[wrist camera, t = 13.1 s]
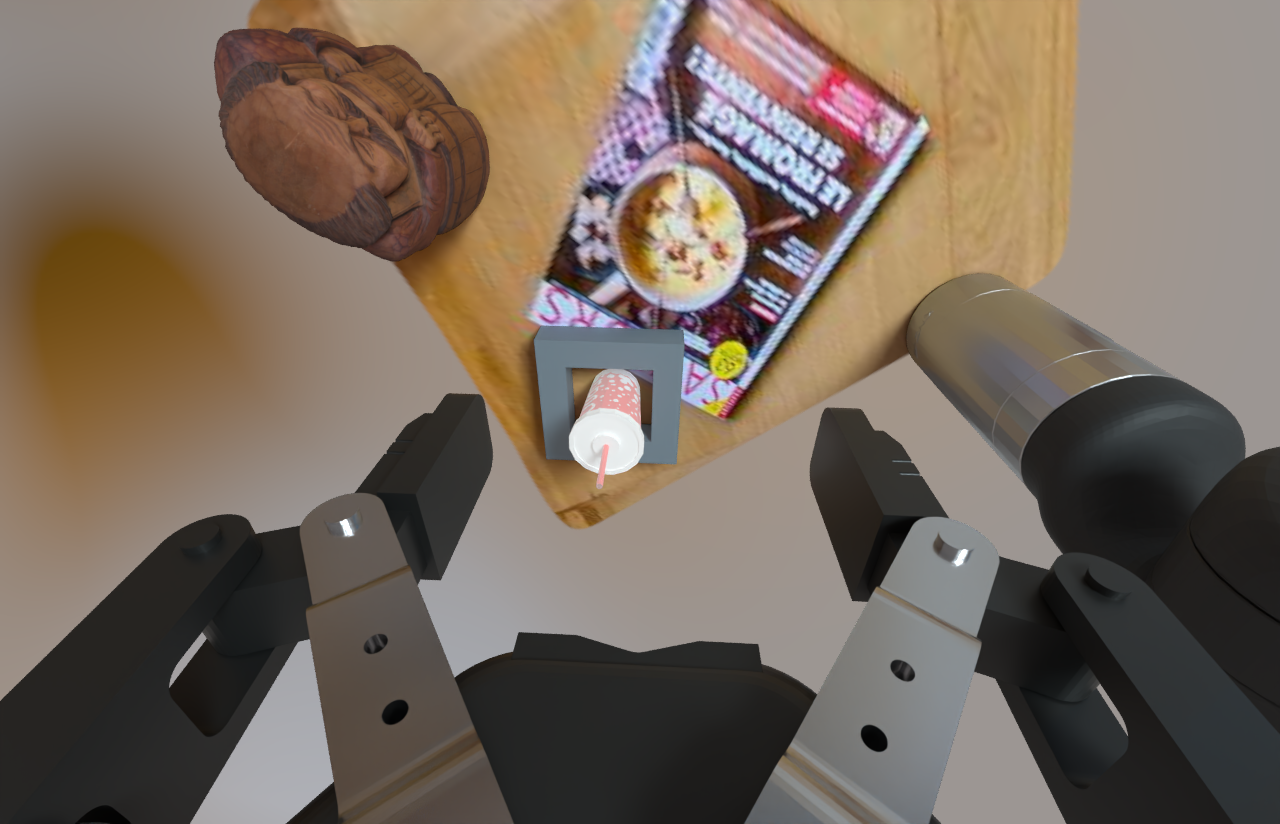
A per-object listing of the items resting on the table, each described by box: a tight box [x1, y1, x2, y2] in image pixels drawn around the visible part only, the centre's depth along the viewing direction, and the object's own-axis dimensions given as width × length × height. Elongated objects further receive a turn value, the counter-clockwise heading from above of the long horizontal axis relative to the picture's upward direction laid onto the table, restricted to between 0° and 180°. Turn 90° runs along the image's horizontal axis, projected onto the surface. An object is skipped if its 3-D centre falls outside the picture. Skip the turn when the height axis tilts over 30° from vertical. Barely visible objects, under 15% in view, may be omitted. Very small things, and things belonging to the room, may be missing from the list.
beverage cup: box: [569, 369, 644, 489], centre depth 43 cm, size 6×6×14 cm
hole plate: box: [534, 326, 684, 464], centre depth 48 cm, size 13×13×3 cm
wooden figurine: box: [214, 28, 490, 261], centre depth 30 cm, size 12×6×18 cm, turn 42°
